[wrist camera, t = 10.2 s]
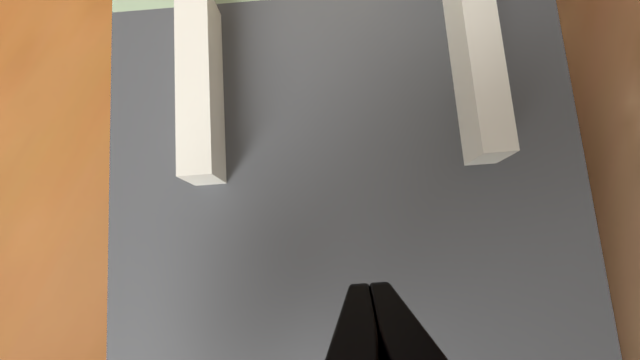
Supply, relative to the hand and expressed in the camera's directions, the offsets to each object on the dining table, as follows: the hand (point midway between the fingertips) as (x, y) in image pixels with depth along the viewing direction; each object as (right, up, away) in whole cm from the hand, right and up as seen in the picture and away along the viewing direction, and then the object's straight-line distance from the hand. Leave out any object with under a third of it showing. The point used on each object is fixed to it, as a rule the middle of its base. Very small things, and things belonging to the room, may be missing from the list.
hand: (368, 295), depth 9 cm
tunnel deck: (-1, +10, +12) cm, 16 cm away
